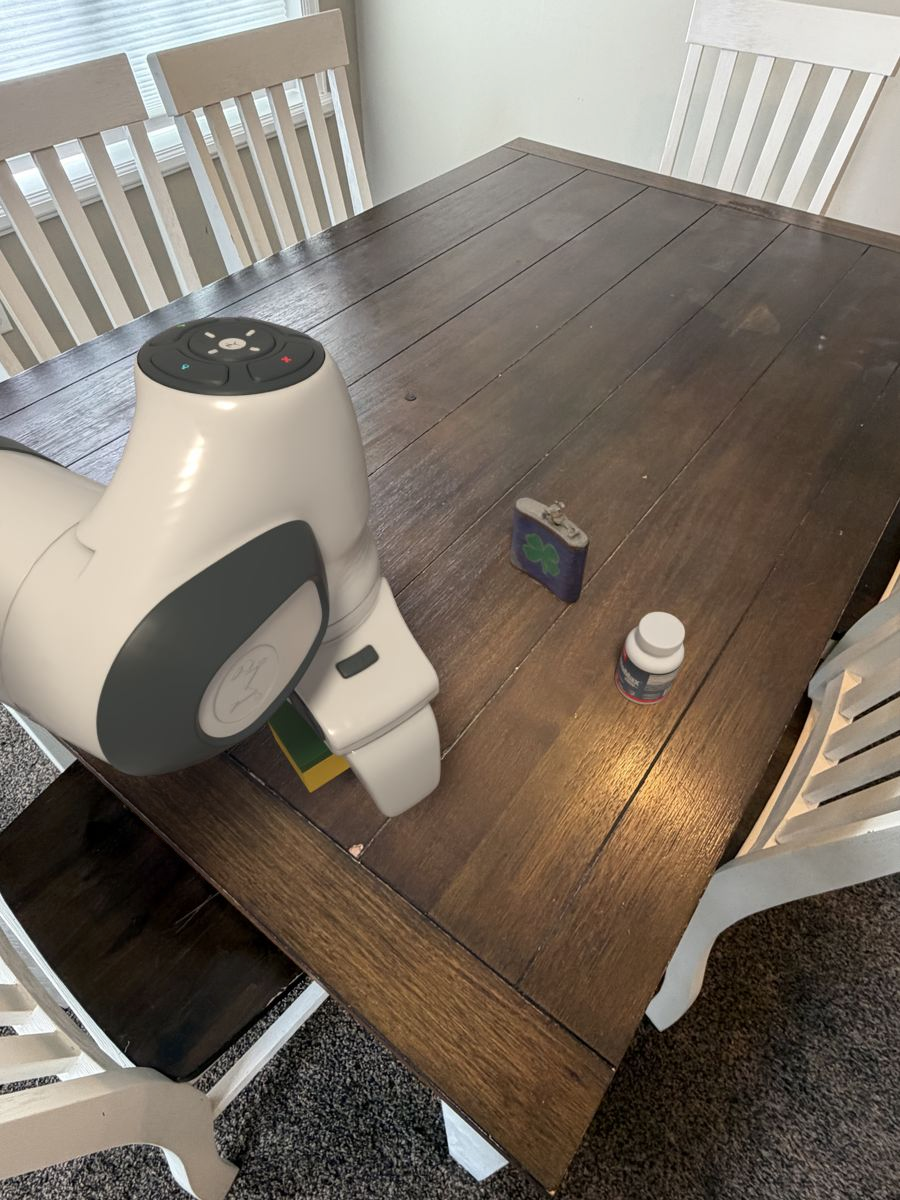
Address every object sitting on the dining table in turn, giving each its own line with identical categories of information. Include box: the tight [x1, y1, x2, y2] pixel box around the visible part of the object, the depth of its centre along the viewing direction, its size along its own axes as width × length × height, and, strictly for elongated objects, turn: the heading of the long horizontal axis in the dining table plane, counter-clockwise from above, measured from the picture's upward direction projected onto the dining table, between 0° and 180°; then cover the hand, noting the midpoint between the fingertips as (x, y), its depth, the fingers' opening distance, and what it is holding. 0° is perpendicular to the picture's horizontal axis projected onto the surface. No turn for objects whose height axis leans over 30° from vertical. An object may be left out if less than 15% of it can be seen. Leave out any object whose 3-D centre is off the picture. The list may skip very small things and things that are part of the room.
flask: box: [509, 496, 590, 606], centre depth 75 cm, size 9×3×11 cm, turn 44°
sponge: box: [267, 700, 350, 793], centre depth 51 cm, size 8×5×4 cm, turn 126°
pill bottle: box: [614, 611, 686, 706], centre depth 67 cm, size 5×5×9 cm
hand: (338, 724), depth 51 cm, fingers closed on sponge, 5 cm apart
